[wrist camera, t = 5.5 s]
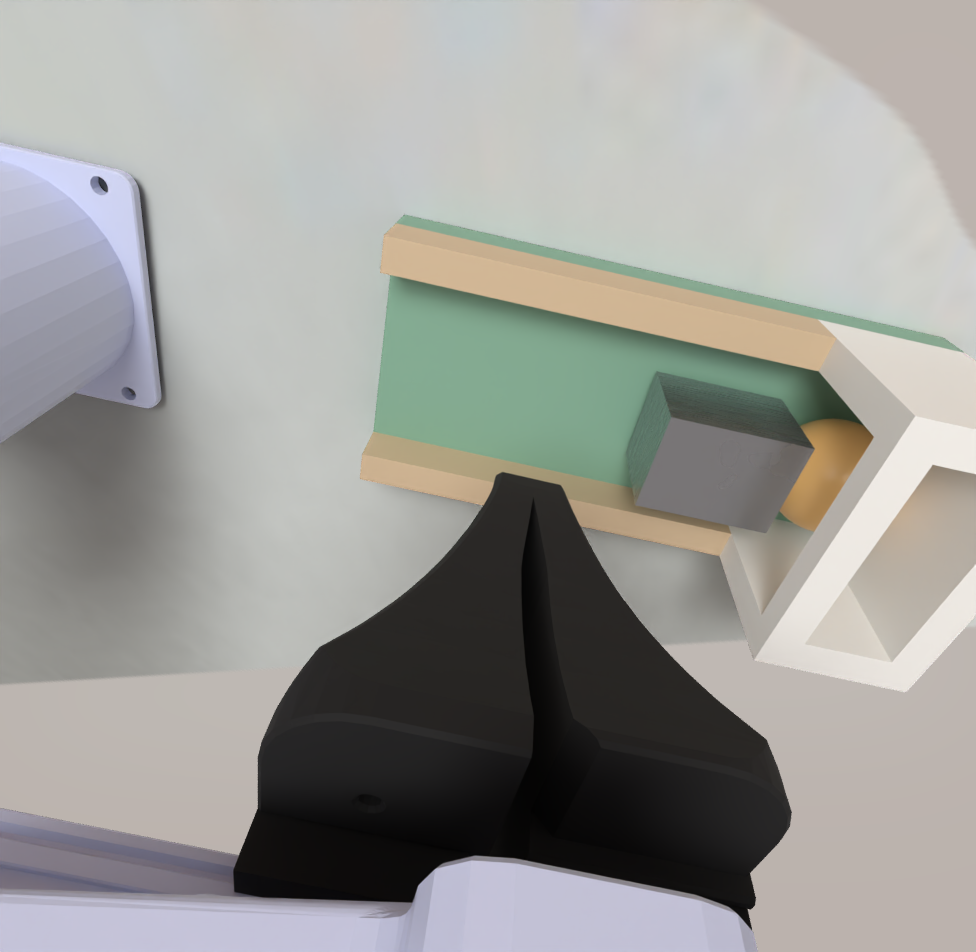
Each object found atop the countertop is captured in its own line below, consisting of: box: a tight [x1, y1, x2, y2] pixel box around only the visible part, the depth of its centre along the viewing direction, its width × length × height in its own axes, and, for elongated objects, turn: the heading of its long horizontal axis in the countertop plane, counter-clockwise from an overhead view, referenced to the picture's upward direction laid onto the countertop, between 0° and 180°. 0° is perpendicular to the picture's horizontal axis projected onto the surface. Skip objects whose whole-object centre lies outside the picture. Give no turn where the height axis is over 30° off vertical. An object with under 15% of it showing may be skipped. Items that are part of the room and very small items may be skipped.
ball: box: [779, 418, 874, 532], centre depth 19 cm, size 4×4×4 cm
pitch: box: [360, 215, 976, 692], centre depth 18 cm, size 17×8×7 cm, turn 79°
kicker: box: [626, 372, 815, 533], centre depth 19 cm, size 4×3×3 cm
